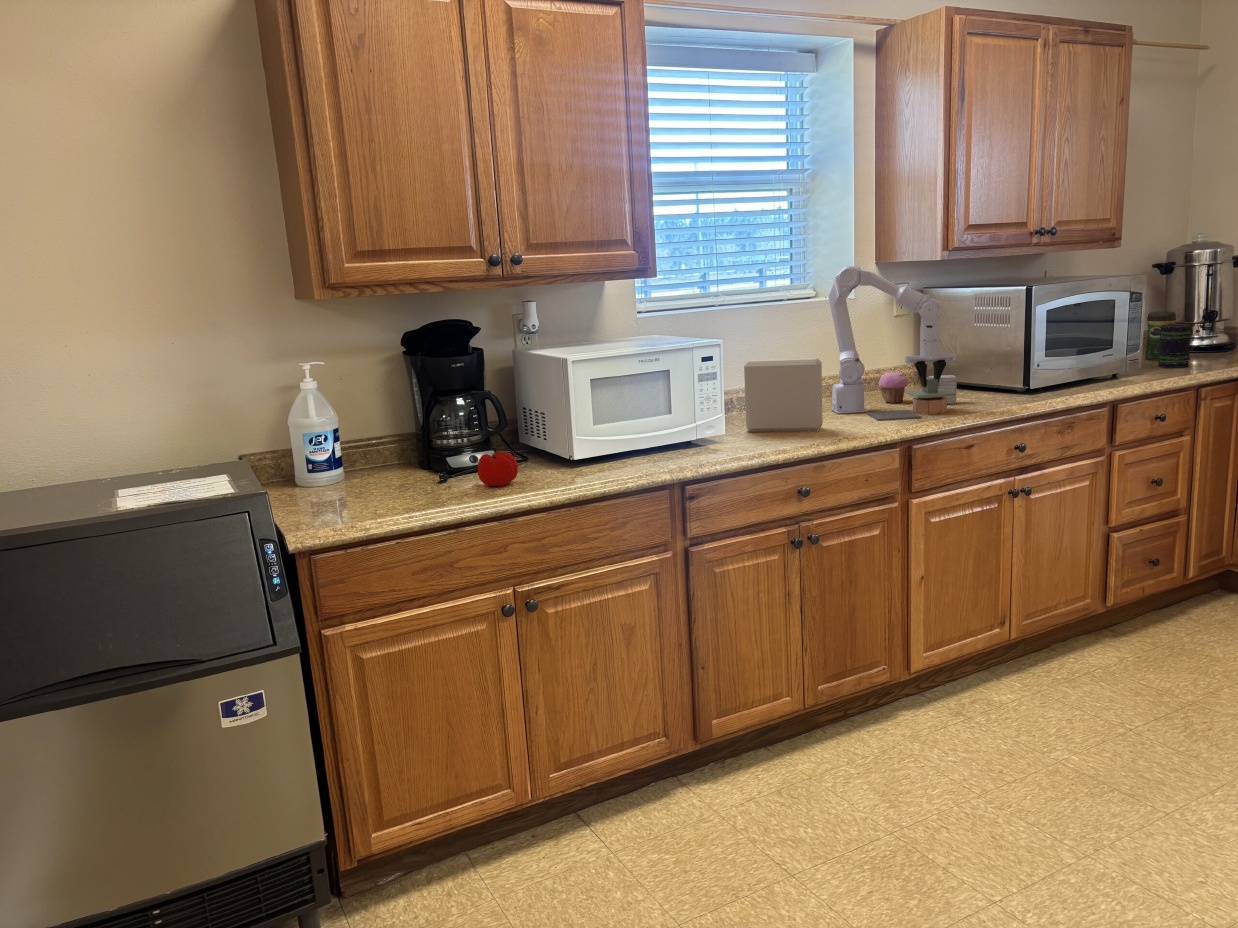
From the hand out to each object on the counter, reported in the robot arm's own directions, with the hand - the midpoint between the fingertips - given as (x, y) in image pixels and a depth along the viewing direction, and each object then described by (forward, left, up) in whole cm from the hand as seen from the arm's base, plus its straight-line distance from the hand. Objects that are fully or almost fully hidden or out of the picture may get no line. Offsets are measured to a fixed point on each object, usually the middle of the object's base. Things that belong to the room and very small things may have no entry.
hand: (929, 386), depth 268 cm
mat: (-12, -4, -8) cm, 15 cm away
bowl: (0, 0, -8) cm, 8 cm away
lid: (0, 0, -3) cm, 3 cm away
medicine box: (+8, +13, -8) cm, 17 cm away
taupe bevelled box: (-46, -15, -8) cm, 49 cm away
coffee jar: (+117, +86, -8) cm, 145 cm away
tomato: (-121, -63, -8) cm, 137 cm away
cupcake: (-5, +21, -8) cm, 23 cm away
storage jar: (+109, +63, -8) cm, 126 cm away
